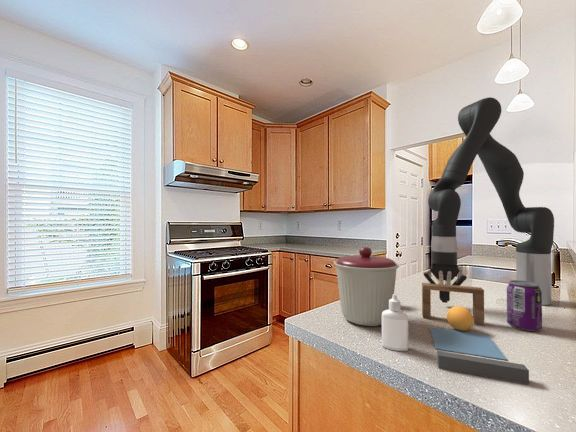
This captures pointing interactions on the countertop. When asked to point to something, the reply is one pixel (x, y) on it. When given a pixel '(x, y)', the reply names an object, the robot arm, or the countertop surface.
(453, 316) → the ball
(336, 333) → the countertop surface
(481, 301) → the bridge
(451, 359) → the stopper wall
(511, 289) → the beverage can
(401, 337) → the eye dropper bottle
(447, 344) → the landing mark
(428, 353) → the countertop surface
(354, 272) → the canister
